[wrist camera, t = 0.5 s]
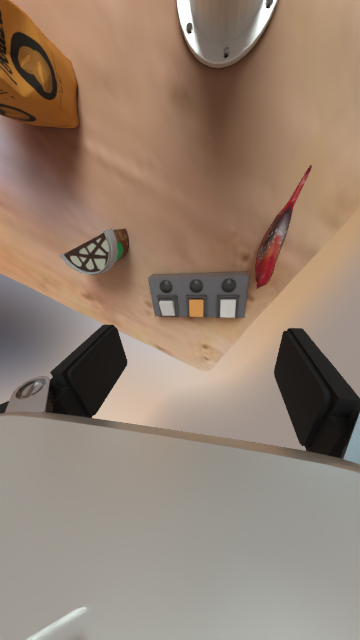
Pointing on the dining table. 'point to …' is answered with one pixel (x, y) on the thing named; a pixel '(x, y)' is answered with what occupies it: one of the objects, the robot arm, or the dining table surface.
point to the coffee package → (34, 74)
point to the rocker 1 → (167, 308)
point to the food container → (98, 252)
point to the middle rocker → (196, 307)
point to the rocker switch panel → (200, 291)
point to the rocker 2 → (227, 308)
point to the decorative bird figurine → (275, 239)
